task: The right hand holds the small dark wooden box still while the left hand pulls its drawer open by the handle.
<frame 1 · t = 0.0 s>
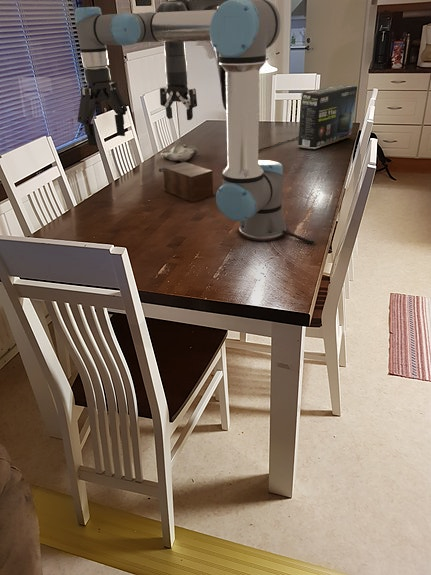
left hand: (179, 119, 167), 29 cm above the table, tool pointing down, fingers open, 8 cm apart
right hand: (107, 140, 148), 28 cm above the table, tool pointing down, fingers open, 13 cm apart
router box: (325, 143, 245), on the table
fossil: (178, 158, 230), on the table
drawer: (180, 178, 185), point 5 cm above the table, slide at 0.5 cm
dark wooden box: (189, 193, 184), on the table
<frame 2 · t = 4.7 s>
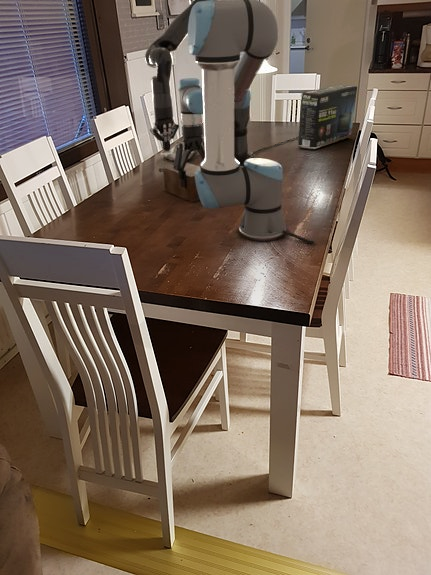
left hand: (166, 150, 186), 15 cm above the table, tool pointing down, fingers closed
right hand: (195, 183, 179), 5 cm above the table, tool pointing down, fingers closed on dark wooden box, 10 cm apart
dark wooden box: (189, 193, 184), on the table, touching right hand
everything else where it was.
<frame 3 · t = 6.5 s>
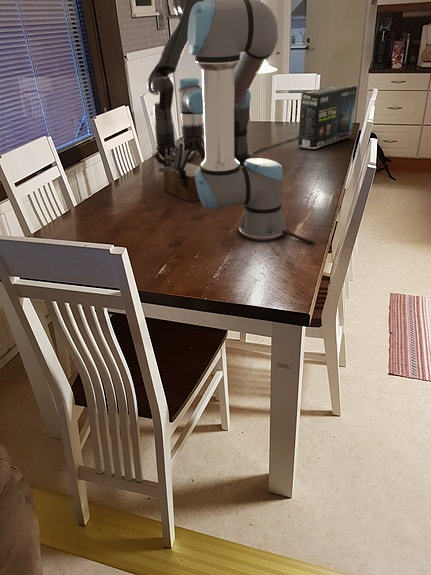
left hand: (168, 173, 191), 5 cm above the table, tool pointing down, fingers closed
right hand: (195, 183, 179), 5 cm above the table, tool pointing down, fingers closed on dark wooden box, 10 cm apart
drawer: (180, 178, 185), point 5 cm above the table, slide at 0.5 cm, touching left hand
dark wooden box: (189, 193, 184), on the table, touching right hand
everything else where it was.
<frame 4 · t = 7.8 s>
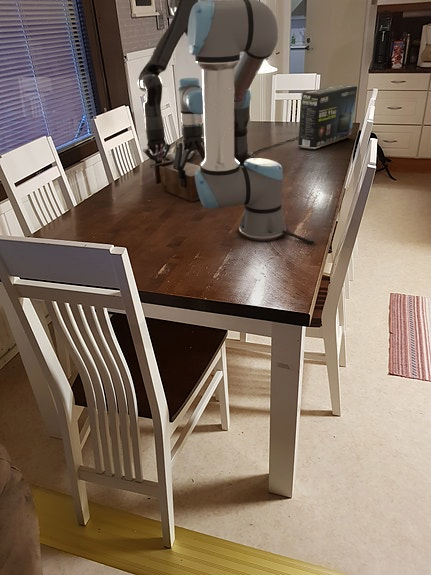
left hand: (159, 169, 195), 6 cm above the table, tool pointing down, fingers closed
right hand: (195, 183, 179), 5 cm above the table, tool pointing down, fingers closed on dark wooden box, 10 cm apart
drawer: (170, 174, 190), point 5 cm above the table, slide at 7.1 cm
dark wooden box: (189, 193, 184), on the table, touching right hand
everything else where it was.
when the right hand's fingers open (5 cm above the table, at t = 9.3 s): dark wooden box stays where it is, on the table.
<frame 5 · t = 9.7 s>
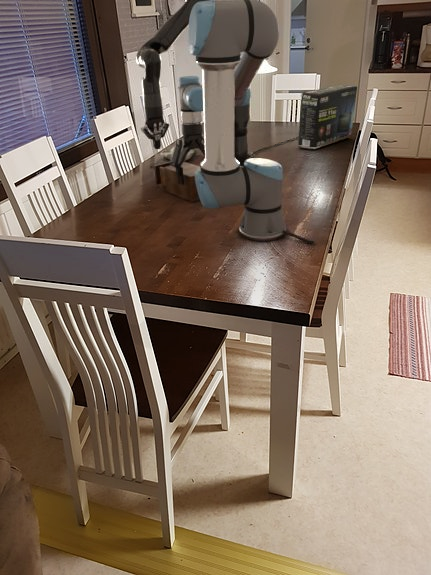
left hand: (157, 148, 191), 14 cm above the table, tool pointing down, fingers closed
right hand: (195, 179, 178), 7 cm above the table, tool pointing down, fingers open, 13 cm apart
dark wooden box: (189, 193, 184), on the table
everything else where it was.
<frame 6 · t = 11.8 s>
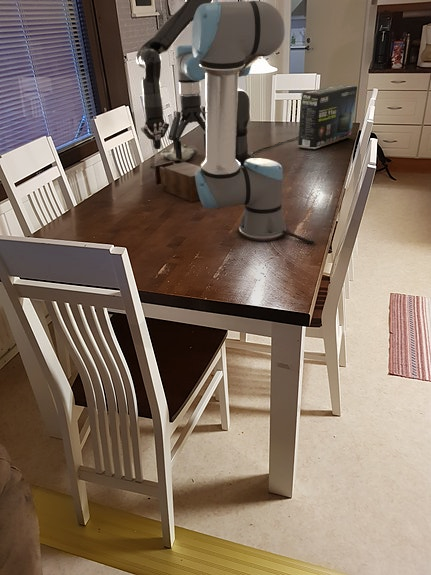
left hand: (157, 148, 191), 14 cm above the table, tool pointing down, fingers closed
right hand: (193, 155, 173), 16 cm above the table, tool pointing down, fingers open, 13 cm apart
nothing on the table moved.
at the end: drawer slide at 7.1 cm; dark wooden box tilted 0°; dark wooden box never tilted more than 1° during the clip; dark wooden box moved 0.2 cm from its start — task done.
